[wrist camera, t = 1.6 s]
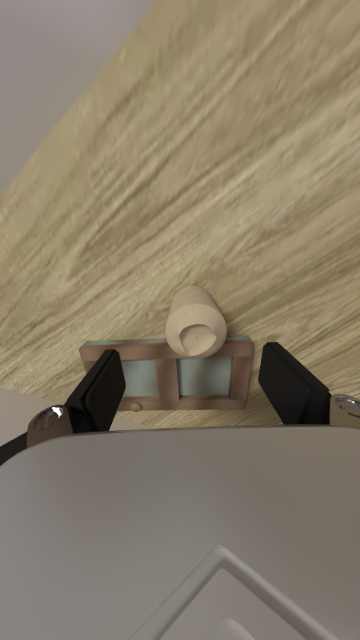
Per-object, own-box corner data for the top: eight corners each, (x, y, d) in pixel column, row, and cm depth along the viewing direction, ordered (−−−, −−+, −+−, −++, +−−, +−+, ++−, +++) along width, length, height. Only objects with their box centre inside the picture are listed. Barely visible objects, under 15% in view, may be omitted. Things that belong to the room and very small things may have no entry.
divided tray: (247, 335, 24) (254, 345, 22) (240, 397, 29) (245, 411, 26) (87, 341, 25) (76, 350, 23) (104, 400, 30) (97, 413, 27)
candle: (197, 330, 24) (205, 378, 15) (164, 311, 23) (151, 350, 14) (220, 298, 22) (245, 331, 13) (185, 276, 21) (186, 295, 12)
